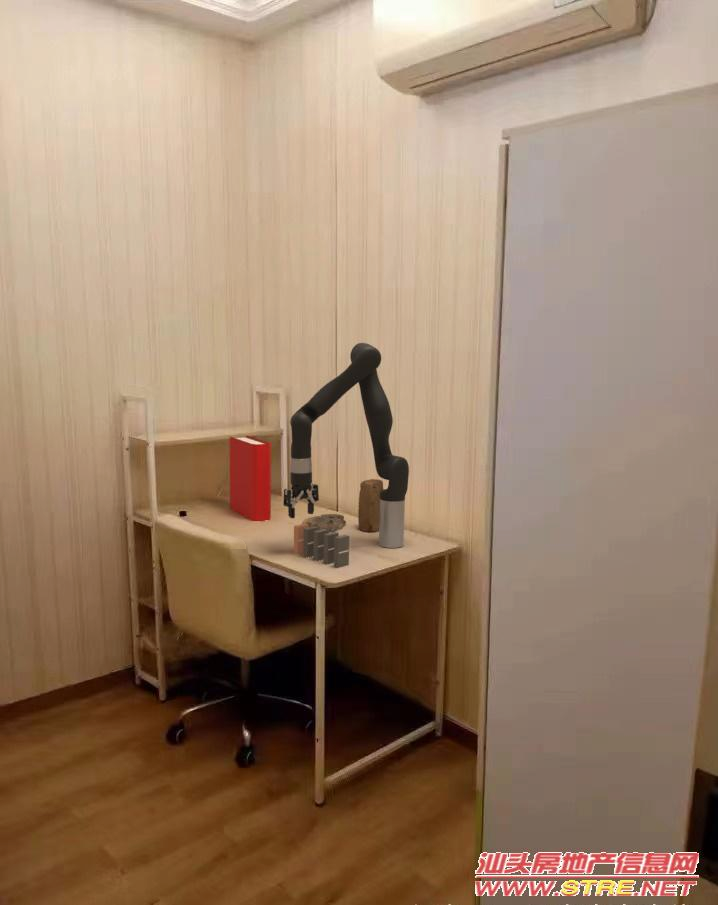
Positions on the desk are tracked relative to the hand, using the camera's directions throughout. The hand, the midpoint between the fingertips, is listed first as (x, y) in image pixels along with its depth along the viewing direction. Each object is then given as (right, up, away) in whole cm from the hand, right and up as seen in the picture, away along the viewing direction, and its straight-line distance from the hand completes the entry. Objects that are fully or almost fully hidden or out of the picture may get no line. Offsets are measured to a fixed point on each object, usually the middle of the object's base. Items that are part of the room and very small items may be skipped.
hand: (301, 515), depth 256 cm
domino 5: (+14, -16, -12) cm, 24 cm away
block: (+25, -9, +35) cm, 44 cm away
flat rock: (+7, -8, +38) cm, 40 cm away
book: (-26, -4, +57) cm, 63 cm away
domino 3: (+7, -14, -5) cm, 17 cm away
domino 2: (+3, -14, -2) cm, 14 cm away
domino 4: (+11, -15, -9) cm, 20 cm away
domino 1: (0, -13, +1) cm, 13 cm away
